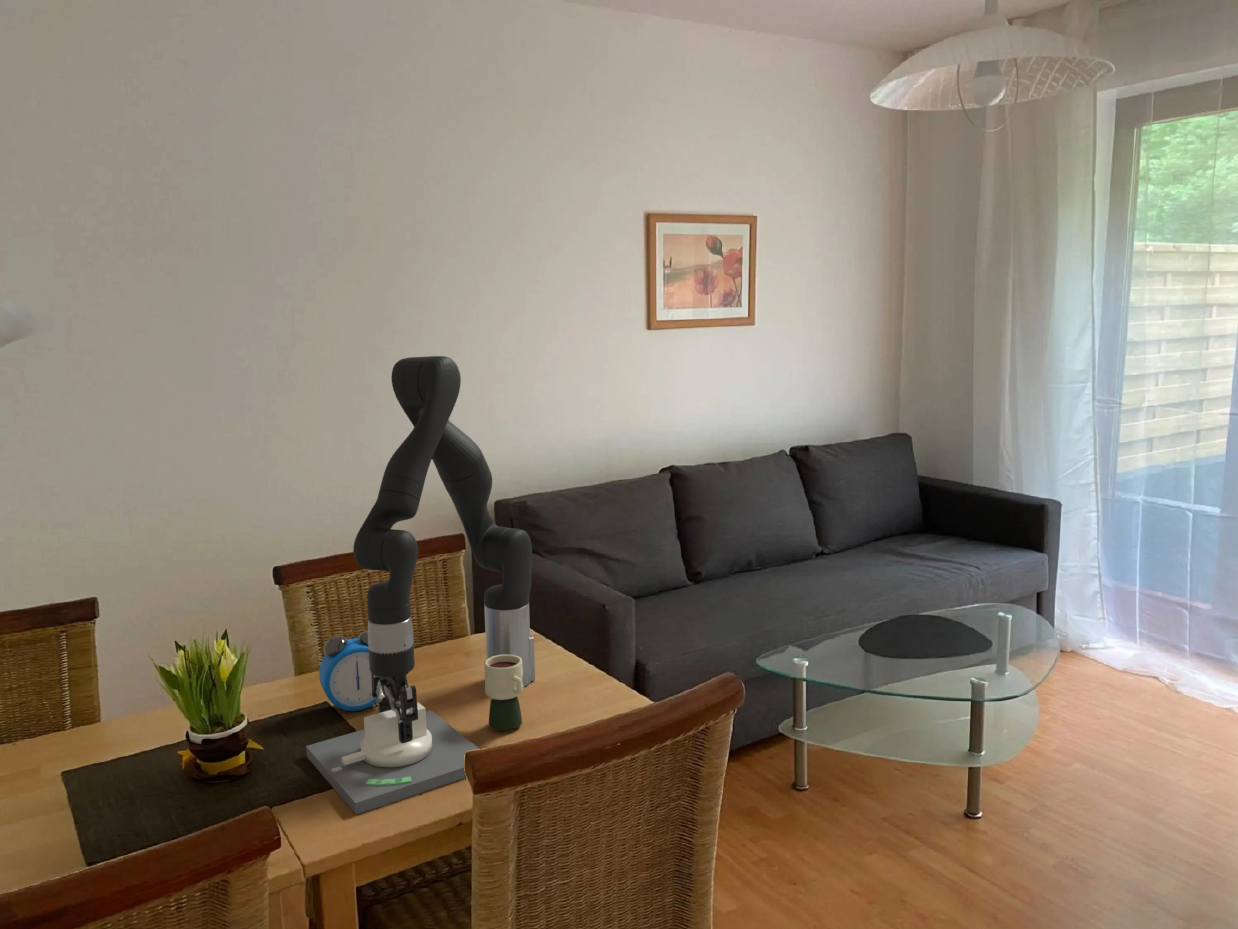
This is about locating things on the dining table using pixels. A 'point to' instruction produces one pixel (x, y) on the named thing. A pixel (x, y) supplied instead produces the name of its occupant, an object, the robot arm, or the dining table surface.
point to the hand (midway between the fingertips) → (395, 732)
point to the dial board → (390, 784)
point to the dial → (392, 741)
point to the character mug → (504, 690)
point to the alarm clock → (347, 673)
